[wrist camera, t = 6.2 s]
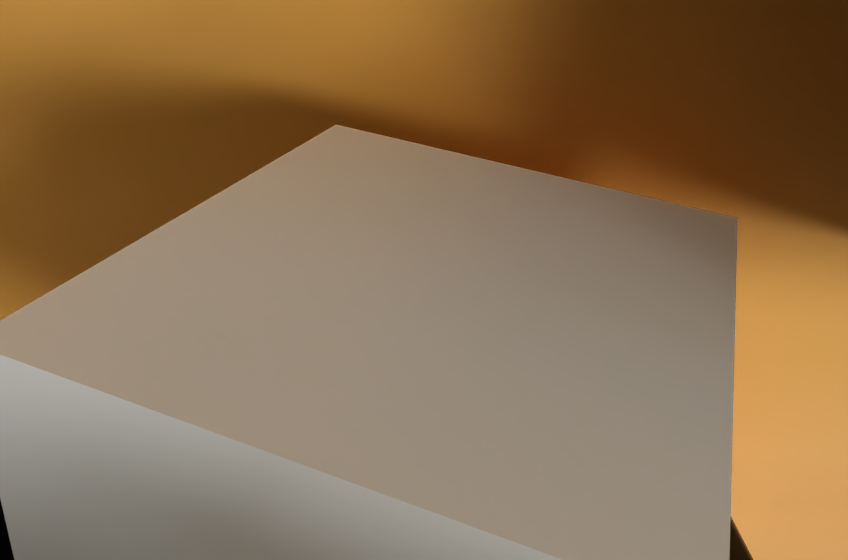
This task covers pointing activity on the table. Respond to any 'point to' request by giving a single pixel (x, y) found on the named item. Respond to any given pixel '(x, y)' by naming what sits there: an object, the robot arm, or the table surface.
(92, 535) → the block
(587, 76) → the table surface
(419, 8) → the table surface
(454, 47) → the table surface
